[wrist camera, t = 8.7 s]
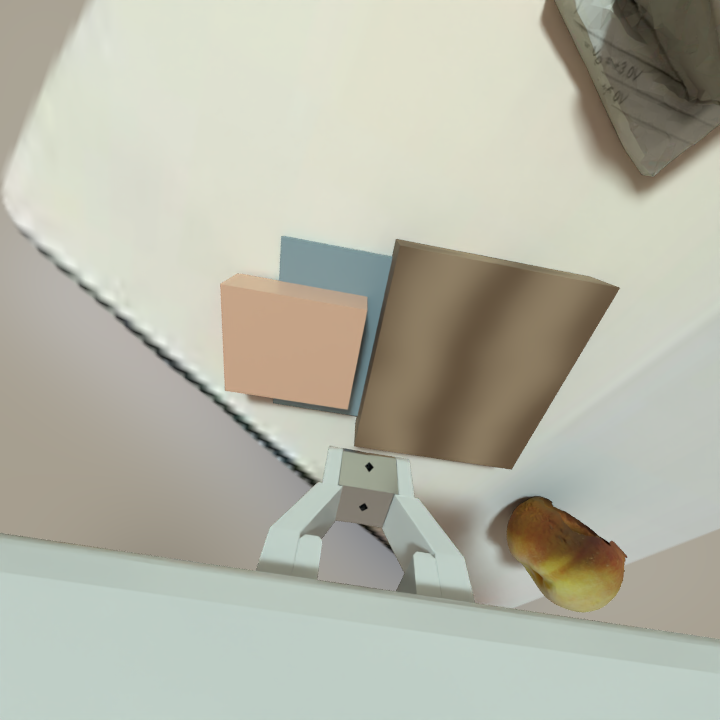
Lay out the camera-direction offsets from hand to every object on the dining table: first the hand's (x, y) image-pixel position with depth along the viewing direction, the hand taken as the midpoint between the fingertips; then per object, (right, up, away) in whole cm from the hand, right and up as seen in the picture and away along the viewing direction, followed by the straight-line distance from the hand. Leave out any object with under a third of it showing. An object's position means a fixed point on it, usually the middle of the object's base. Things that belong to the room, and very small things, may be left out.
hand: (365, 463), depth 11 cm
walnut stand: (+7, +4, +10) cm, 13 cm away
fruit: (+16, -10, +17) cm, 26 cm away
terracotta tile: (-4, +5, +9) cm, 11 cm away
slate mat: (-2, +5, +9) cm, 11 cm away
